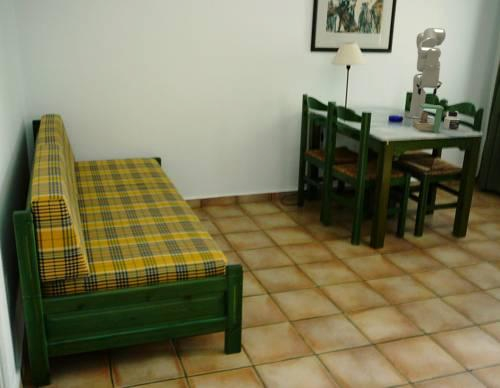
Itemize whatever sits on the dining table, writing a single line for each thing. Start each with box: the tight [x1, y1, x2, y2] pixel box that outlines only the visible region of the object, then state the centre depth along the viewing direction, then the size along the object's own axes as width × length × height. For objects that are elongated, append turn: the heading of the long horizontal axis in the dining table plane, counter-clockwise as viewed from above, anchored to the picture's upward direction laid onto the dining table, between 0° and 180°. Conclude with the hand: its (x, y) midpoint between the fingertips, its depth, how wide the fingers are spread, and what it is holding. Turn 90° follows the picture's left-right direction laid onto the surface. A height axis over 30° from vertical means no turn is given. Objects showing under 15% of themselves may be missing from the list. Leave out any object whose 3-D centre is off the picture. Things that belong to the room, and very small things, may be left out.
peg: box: [420, 111, 429, 123], centre depth 348 cm, size 4×4×10 cm
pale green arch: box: [419, 104, 445, 134], centre depth 337 cm, size 10×13×16 cm
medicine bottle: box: [442, 110, 461, 131], centre depth 349 cm, size 7×7×12 cm
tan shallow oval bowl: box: [412, 120, 434, 132], centre depth 347 cm, size 14×10×4 cm
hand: (426, 94), depth 346 cm, fingers open, 9 cm apart
